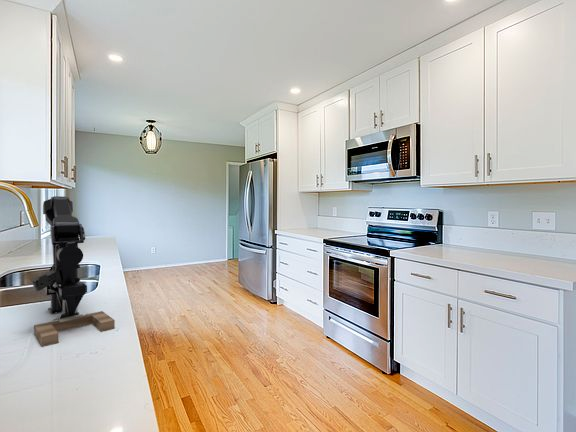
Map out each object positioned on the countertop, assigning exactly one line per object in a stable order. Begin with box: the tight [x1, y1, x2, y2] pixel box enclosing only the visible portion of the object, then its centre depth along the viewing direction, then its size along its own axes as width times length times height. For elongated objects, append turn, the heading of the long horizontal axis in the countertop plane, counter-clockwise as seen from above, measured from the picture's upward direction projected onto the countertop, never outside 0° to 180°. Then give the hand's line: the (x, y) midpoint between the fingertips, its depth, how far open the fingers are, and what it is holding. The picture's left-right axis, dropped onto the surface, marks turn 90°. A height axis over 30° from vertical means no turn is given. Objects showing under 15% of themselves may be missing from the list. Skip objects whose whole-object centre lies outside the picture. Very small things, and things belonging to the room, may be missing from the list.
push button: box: [53, 297, 80, 321], centre depth 96 cm, size 7×5×10 cm
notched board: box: [33, 310, 116, 347], centre depth 89 cm, size 11×17×3 cm, turn 137°
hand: (67, 312), depth 96 cm, fingers open, 9 cm apart
